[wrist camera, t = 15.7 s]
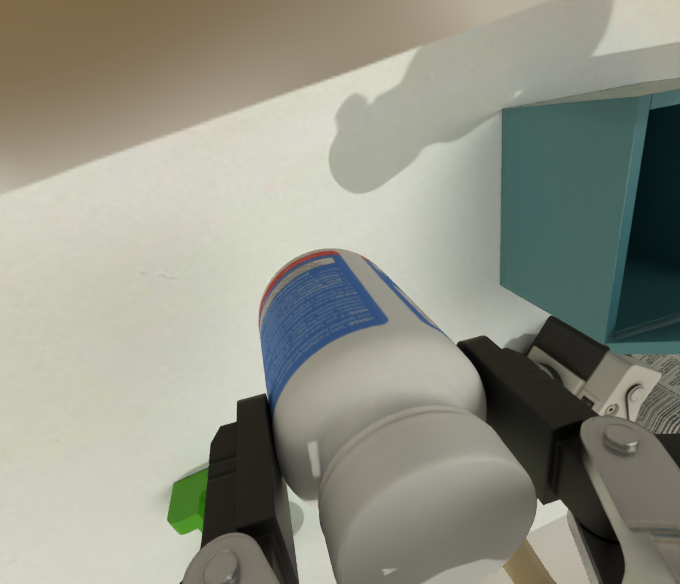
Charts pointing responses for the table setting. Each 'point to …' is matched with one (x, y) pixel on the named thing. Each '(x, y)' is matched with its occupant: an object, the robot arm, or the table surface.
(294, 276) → the pill bottle
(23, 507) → the table surface
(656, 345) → the lid
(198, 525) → the tape dispenser
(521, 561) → the handle
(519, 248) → the teal lidded chest
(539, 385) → the robot arm
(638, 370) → the camera
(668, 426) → the juice carton
